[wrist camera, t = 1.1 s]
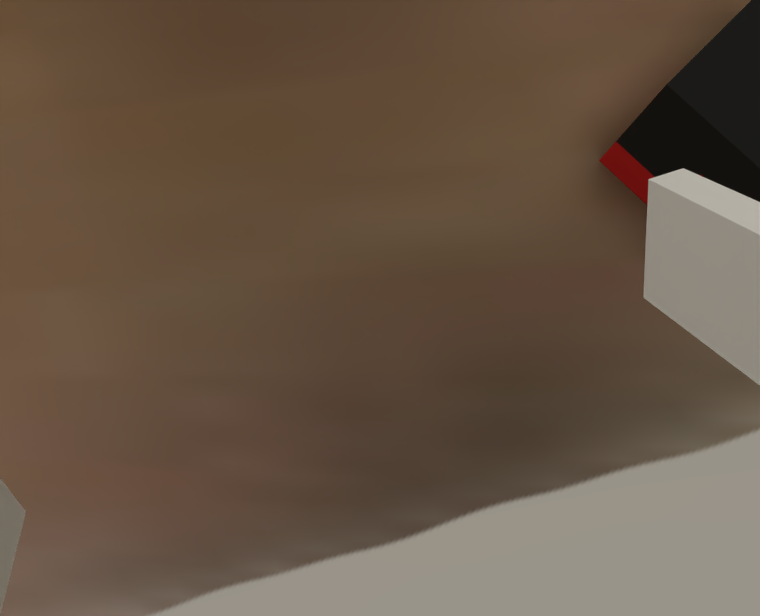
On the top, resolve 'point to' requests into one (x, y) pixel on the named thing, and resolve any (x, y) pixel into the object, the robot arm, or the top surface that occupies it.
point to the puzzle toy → (702, 117)
